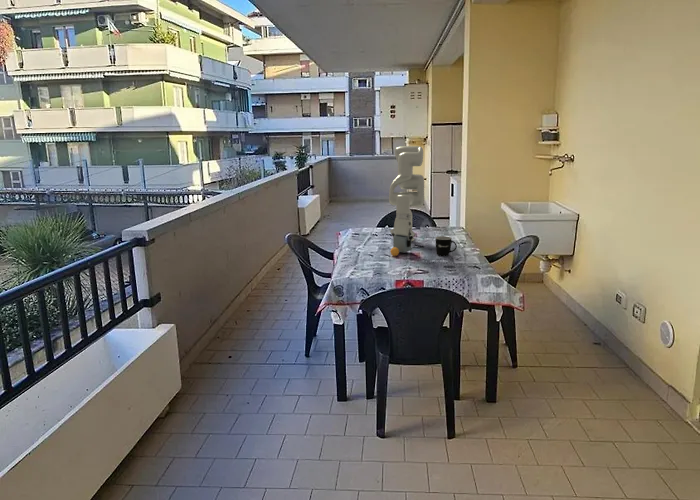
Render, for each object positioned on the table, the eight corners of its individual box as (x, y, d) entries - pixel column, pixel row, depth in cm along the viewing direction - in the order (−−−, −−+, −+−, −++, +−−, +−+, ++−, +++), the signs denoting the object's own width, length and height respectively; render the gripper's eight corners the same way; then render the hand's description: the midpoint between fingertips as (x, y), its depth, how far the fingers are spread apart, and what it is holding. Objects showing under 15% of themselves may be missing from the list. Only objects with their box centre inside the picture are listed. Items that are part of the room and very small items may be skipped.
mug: (434, 256, 285) (435, 239, 282) (435, 252, 293) (436, 235, 291) (456, 257, 282) (456, 240, 280) (456, 253, 291) (457, 236, 288)
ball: (389, 246, 286) (388, 254, 286) (397, 247, 283) (395, 256, 283) (394, 247, 290) (392, 255, 290) (401, 248, 287) (399, 257, 287)
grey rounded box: (400, 248, 298) (400, 233, 296) (411, 249, 294) (411, 235, 292) (393, 250, 292) (393, 236, 290) (404, 252, 288) (404, 237, 286)
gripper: (419, 216, 286) (418, 246, 290) (393, 213, 296) (393, 242, 300) (412, 218, 280) (412, 249, 284) (386, 215, 290) (386, 245, 295)
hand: (402, 245), depth 292 cm, fingers closed on grey rounded box, 7 cm apart
